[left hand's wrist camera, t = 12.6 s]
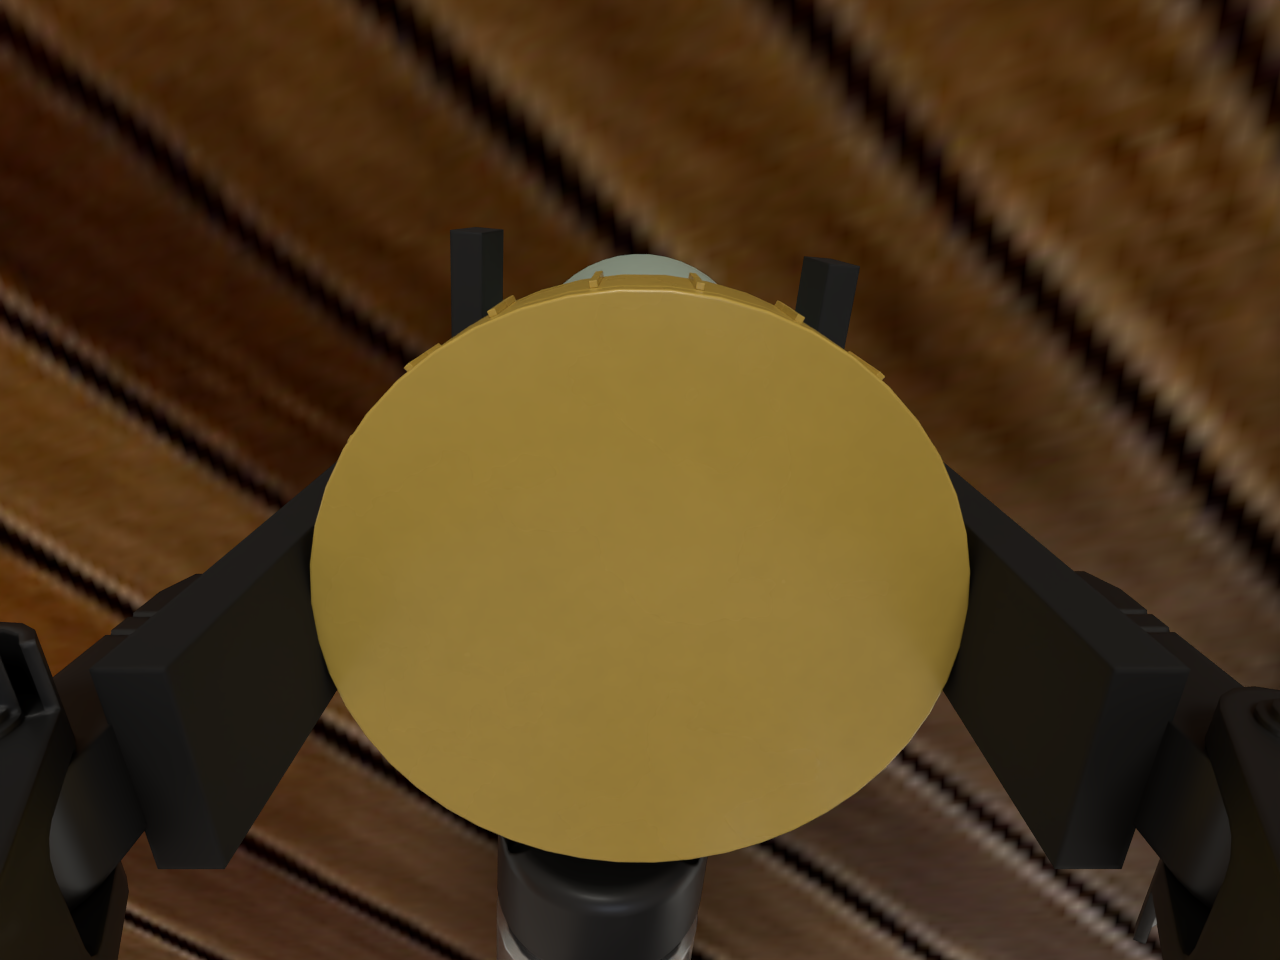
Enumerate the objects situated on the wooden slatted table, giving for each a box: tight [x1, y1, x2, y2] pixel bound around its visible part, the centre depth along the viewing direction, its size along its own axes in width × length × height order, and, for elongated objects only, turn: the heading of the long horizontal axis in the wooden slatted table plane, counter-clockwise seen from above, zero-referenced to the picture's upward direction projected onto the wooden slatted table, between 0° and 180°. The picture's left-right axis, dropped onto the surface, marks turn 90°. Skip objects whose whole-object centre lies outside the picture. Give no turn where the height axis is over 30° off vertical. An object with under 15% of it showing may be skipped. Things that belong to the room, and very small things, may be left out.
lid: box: [310, 271, 970, 862], centre depth 11 cm, size 10×10×2 cm
